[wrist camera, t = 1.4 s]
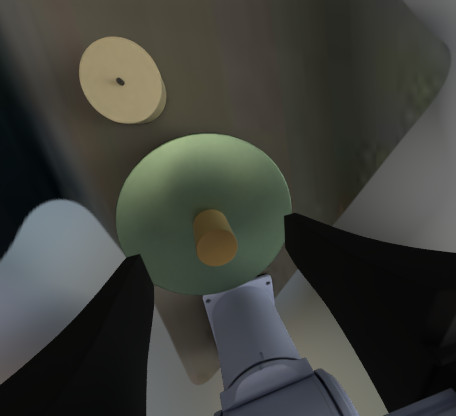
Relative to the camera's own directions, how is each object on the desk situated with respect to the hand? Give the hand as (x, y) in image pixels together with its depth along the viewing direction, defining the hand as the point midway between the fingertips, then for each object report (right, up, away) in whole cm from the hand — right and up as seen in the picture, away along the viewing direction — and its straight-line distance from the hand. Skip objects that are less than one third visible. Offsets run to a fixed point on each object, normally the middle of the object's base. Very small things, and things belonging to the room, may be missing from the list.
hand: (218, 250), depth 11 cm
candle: (-7, +11, +6) cm, 14 cm away
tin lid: (-1, +1, +5) cm, 5 cm away
